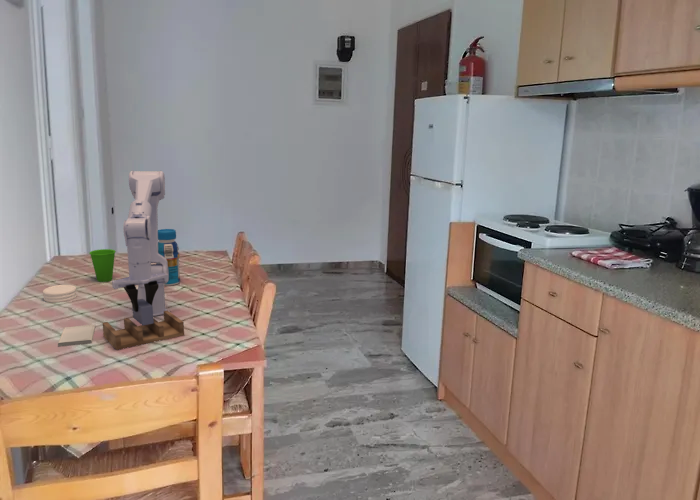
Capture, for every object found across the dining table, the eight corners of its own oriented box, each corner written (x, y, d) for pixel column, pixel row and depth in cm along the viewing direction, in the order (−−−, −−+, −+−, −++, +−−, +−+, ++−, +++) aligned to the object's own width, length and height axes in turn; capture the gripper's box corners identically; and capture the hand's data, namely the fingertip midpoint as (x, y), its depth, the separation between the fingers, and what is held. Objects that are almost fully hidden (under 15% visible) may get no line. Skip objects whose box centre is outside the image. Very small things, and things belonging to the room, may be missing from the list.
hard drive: (91, 339, 150) (95, 324, 161) (57, 343, 147) (63, 326, 158) (92, 345, 150) (95, 329, 162) (58, 348, 147) (64, 332, 159)
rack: (103, 336, 155) (102, 322, 154) (168, 323, 166) (167, 310, 165) (116, 350, 146) (115, 335, 145) (184, 335, 157) (183, 321, 156)
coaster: (63, 304, 182) (62, 294, 181) (36, 301, 184) (35, 291, 183) (83, 295, 191) (82, 285, 190) (58, 293, 193) (57, 283, 192)
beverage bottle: (152, 285, 204) (149, 231, 200) (164, 279, 212) (162, 227, 208) (172, 287, 202) (170, 233, 198) (185, 281, 210) (182, 229, 206)
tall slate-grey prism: (132, 317, 157) (131, 300, 156) (143, 315, 159) (142, 298, 158) (142, 325, 151) (141, 308, 150) (153, 323, 153) (152, 306, 152)
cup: (117, 282, 207) (115, 253, 204) (90, 284, 203) (88, 255, 201) (117, 276, 215) (115, 248, 212) (92, 278, 211) (89, 249, 209)
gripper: (116, 268, 144) (119, 318, 147) (171, 261, 153) (173, 308, 156) (108, 263, 149) (111, 311, 152) (161, 256, 158) (164, 302, 161)
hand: (142, 309), depth 154 cm, fingers closed on tall slate-grey prism, 3 cm apart
